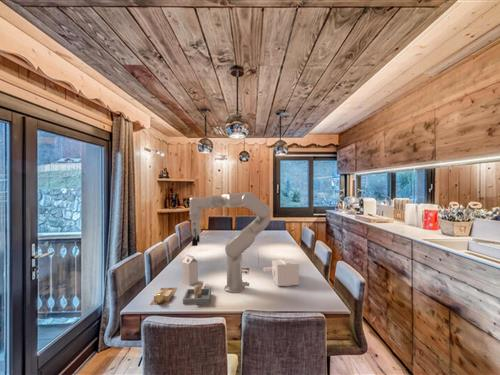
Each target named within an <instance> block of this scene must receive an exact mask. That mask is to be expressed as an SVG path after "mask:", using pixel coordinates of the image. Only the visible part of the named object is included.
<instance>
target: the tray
mask: <svg viewBox="0 0 500 375" xmlns="http://www.w3.org/2000/svg"><path fill="white" fill-rule="evenodd" d="M190 294H191V295H192V294H193V295H194V288H188V289H186V291H185V294H184V296H183V297H182V304H183V305H187V304H189V305H191V304H192V305H193V304H196V305H198V306H210V302H211V301H210V300H211V298H210V297H211V296H212V287H209V288H208V287H207V288H201V298H194V297H193V298H189V295H190Z"/></svg>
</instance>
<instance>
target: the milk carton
mask: <svg viewBox="0 0 500 375" xmlns="http://www.w3.org/2000/svg"><path fill="white" fill-rule="evenodd" d="M181 265H182V271H181V273H182V284H185V285H186V286H187V285H188V286H191V285H194V284H196V283H198V281H199V274H198V273H199V270H198V268H199V266H198V265H199V264H198V260H197V259H195V257H194V256H193V255H189V254H186V256H185V258H184V259H183V260H182V264H181Z"/></svg>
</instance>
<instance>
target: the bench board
mask: <svg viewBox="0 0 500 375" xmlns="http://www.w3.org/2000/svg"><path fill="white" fill-rule="evenodd" d="M159 290H173V296H172V297H171V298H170V300H169V301H164V303H163V304H160V305H158V304H157V301H154V299H153V300H152V301H151V303H150V304H149V305H150V306H163V305H164V306H165V305H170V304H171V301H172V299H173V297H174V295H175V294H176V292H177V290H178V287H161V288H160V289H159Z"/></svg>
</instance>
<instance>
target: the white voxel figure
mask: <svg viewBox="0 0 500 375" xmlns="http://www.w3.org/2000/svg"><path fill="white" fill-rule="evenodd" d="M263 272H264V273H265V272H266V273H269V272H272V281H273V282H274V283H275V285H276V286H277V287H292V286H298V285H300V275H299V274H300V273H299V272H300V266H299V263H298V262H296V261H295V260H294V259H292V258H291V259H290V258H289V259H286V258H279V259H274V260H272V261H271V266H270V267H268V266H267V267H263Z"/></svg>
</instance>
